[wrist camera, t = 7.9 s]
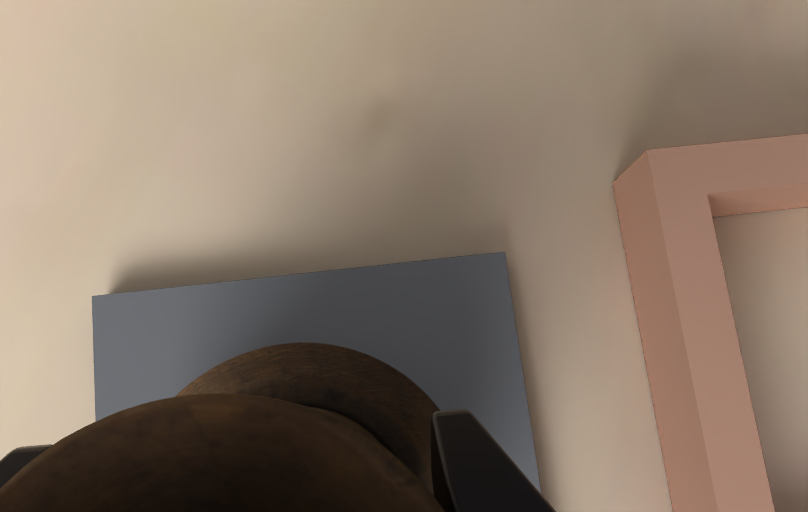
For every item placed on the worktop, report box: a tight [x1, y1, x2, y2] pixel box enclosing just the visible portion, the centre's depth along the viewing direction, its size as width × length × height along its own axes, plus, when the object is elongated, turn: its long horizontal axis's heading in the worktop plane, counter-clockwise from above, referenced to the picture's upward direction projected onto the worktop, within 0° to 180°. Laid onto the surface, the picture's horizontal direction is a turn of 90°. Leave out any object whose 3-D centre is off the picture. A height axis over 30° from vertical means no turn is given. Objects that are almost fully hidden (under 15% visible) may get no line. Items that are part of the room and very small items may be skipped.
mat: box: [92, 252, 541, 493], centre depth 17 cm, size 10×10×1 cm
